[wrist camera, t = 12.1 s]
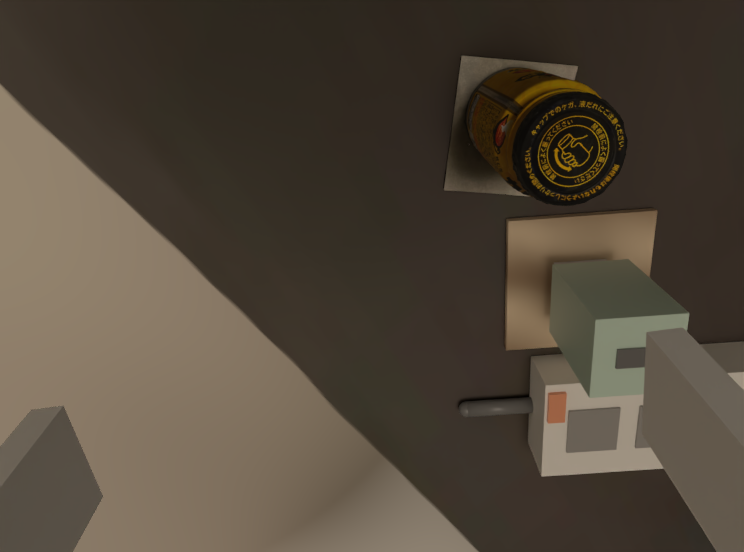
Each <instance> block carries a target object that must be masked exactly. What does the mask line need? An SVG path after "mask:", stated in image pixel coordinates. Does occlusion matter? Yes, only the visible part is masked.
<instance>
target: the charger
mask: <svg viewBox="0 0 744 552" xmlns="http://www.w3.org/2000/svg"><path fill="white" fill-rule="evenodd" d="M688 320H689V312H688V311H686V310H685V309H684V308H683V307H682V306H681V305H680V304H679V303H677V302H676V301H675V300H674V299H673V298H672V297H671V296H670V295H668V294H667V293H666V292H665V291H664V290H663V289H662V288H661V287H659V286H658V285H657V284H656V283H655V282H654V281H653V280H652V279H650V278H649V277H648V276H647V275H646V274H645V273H644V272H643V271H641V270H640V269H639V268H638V267H637V266H636V265H635V264H634V263H632V262H631V261H630V260H629V259H622V260H607V259H595V260H581V261H567V262H554V264H553V265H552V284H551V305H550V326H549V332H550V334H551V335H552V337H553V338H554V340H555V342H556V343H557V345H558V347H559V348H560V350H561V352H562V353H563V355H564V357H565V358H566V360H567V362H568V363H569V365H570V367H571V368H572V370H573V372H574V373H575V375H576V377H577V378H578V380H579V382H580V383H581V385H582V387H583V388H584V390H585V392H586V393H587V395H588V397H589V398H597V397H611V396H626V395H641V394H644V375H645V354H646V332H650V331H658V330H666V329H674V328H682V327H683V328H684V329H685V330H686V331H687V327H688Z"/></svg>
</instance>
